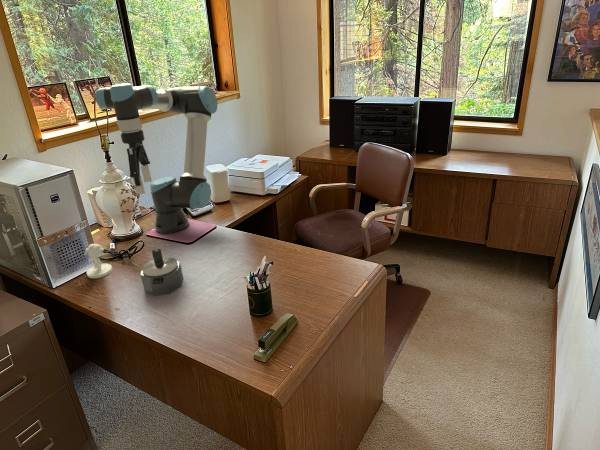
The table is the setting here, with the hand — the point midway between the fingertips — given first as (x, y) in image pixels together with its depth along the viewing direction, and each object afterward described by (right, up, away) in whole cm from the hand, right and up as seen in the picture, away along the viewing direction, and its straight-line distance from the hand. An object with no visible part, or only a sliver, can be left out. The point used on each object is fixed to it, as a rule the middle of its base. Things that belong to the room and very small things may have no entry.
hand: (144, 187), depth 159 cm
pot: (+9, -36, -5) cm, 37 cm away
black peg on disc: (+8, -29, -8) cm, 31 cm away
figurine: (-20, -32, +7) cm, 39 cm away
